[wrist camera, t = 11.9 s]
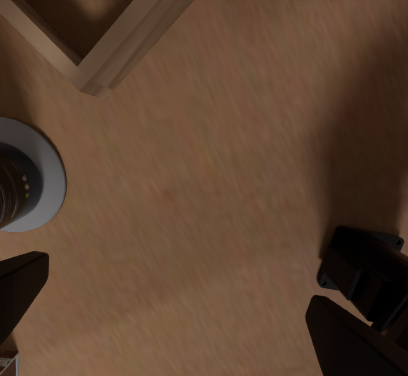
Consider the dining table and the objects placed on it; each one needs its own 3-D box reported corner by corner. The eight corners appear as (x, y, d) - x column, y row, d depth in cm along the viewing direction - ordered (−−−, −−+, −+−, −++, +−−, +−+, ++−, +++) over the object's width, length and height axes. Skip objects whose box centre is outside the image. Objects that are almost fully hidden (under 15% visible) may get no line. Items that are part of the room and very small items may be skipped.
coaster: (69, 129, 19) (67, 129, 18) (63, 238, 21) (61, 240, 21) (-58, 104, 18) (-64, 103, 18) (-50, 219, 21) (-55, 221, 20)
